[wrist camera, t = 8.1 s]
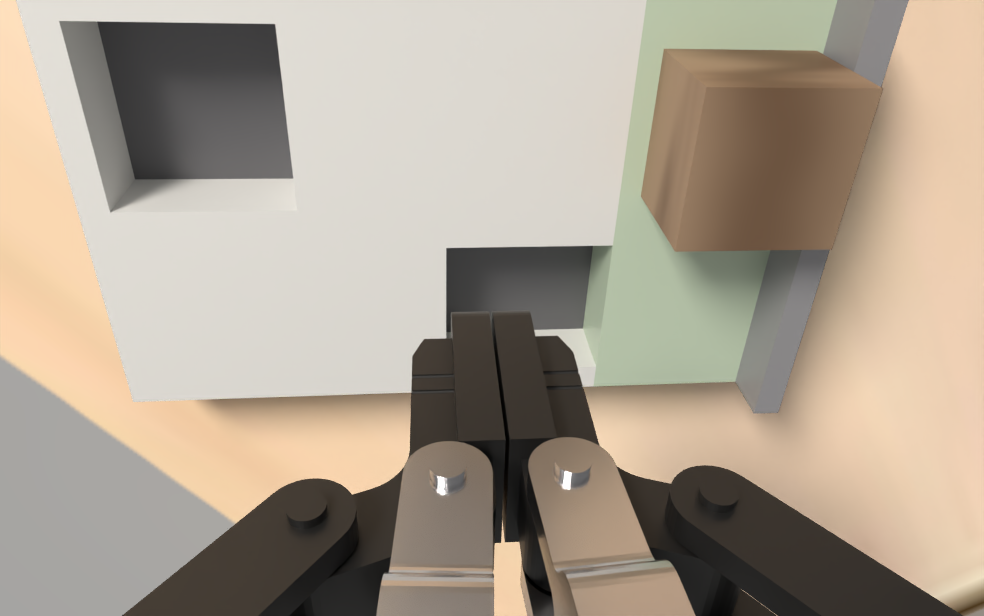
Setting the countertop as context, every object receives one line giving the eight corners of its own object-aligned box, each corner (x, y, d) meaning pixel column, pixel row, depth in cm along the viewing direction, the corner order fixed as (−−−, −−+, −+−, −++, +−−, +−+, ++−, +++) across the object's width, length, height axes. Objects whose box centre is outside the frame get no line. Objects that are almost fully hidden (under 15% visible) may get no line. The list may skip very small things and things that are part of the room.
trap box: (832, -52, 25) (916, -26, 21) (732, 339, 34) (778, 412, 30) (44, -72, 23) (-38, -47, 18) (155, 355, 31) (116, 437, 27)
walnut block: (816, 50, 24) (882, 88, 21) (778, 195, 27) (831, 249, 23) (663, 48, 23) (706, 87, 20) (640, 196, 26) (674, 251, 23)
